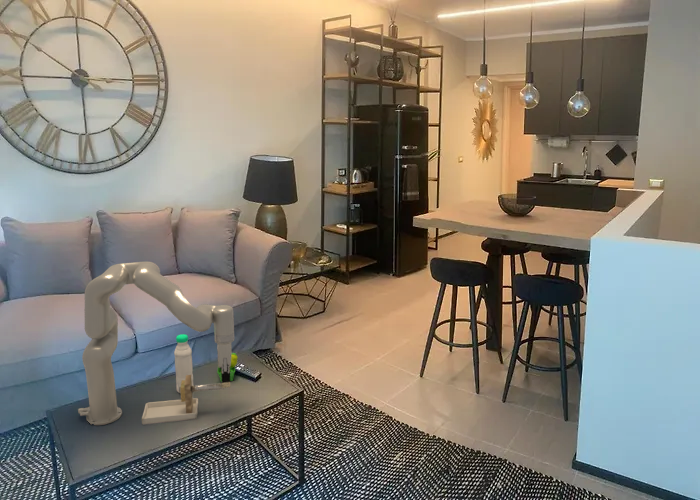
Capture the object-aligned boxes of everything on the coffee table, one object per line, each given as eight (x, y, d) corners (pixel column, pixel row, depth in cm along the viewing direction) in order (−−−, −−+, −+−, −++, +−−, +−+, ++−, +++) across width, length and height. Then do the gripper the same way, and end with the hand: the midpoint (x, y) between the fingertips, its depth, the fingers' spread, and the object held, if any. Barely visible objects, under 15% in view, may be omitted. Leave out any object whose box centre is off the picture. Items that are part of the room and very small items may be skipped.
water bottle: (188, 395, 225) (185, 339, 219) (173, 393, 226) (169, 338, 220) (196, 387, 232) (193, 333, 226) (181, 385, 233) (178, 331, 227)
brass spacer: (181, 401, 207) (180, 387, 206) (182, 394, 213) (181, 380, 212) (185, 401, 208) (184, 387, 206) (186, 393, 213) (185, 380, 212)
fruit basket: (218, 372, 246) (217, 349, 243) (238, 370, 248) (237, 347, 245) (217, 383, 235) (216, 360, 233) (238, 382, 237) (237, 358, 234)
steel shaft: (179, 394, 208) (177, 372, 206) (179, 390, 211) (178, 369, 209) (230, 389, 212) (229, 368, 210) (230, 386, 215) (229, 365, 213)
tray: (142, 424, 203) (141, 418, 202) (146, 408, 214) (146, 402, 214) (196, 419, 207) (196, 413, 207) (198, 403, 219) (198, 397, 218)
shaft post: (186, 416, 208) (184, 384, 205) (187, 405, 216) (185, 375, 212) (191, 415, 209) (189, 384, 205) (192, 405, 216) (191, 374, 213)
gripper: (214, 329, 215) (216, 371, 219) (214, 346, 199) (215, 390, 204) (234, 328, 217) (235, 369, 221) (234, 344, 201) (236, 389, 205)
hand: (226, 379), depth 212 cm, fingers closed on steel shaft, 3 cm apart
